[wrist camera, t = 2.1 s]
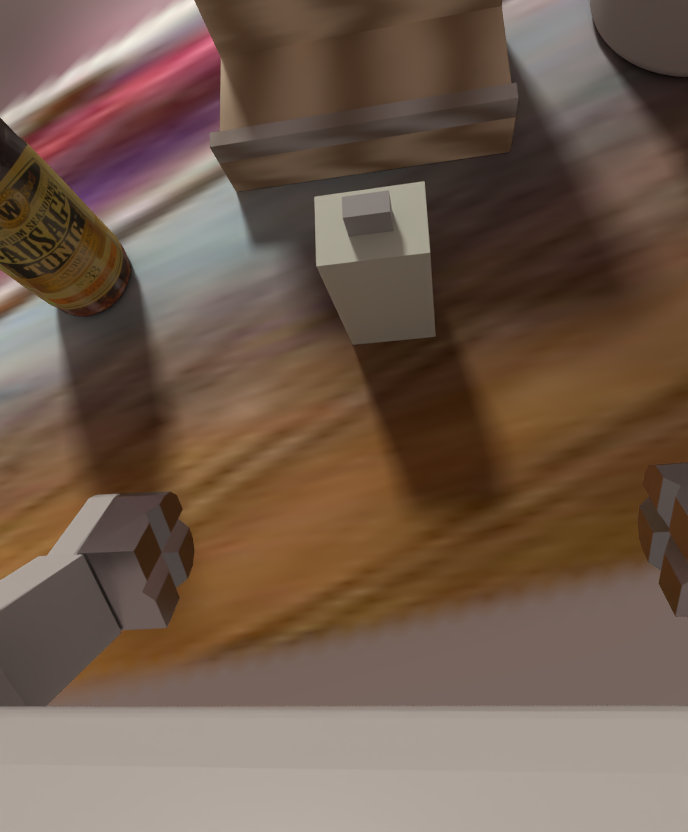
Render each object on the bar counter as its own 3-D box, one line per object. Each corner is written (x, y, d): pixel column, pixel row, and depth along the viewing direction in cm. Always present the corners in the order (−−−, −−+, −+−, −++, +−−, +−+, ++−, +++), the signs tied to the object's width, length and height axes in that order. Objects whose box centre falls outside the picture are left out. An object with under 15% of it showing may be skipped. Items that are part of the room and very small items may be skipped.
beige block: (431, 282, 35) (422, 159, 24) (435, 336, 34) (428, 233, 23) (350, 292, 36) (306, 176, 25) (352, 344, 35) (308, 249, 24)
